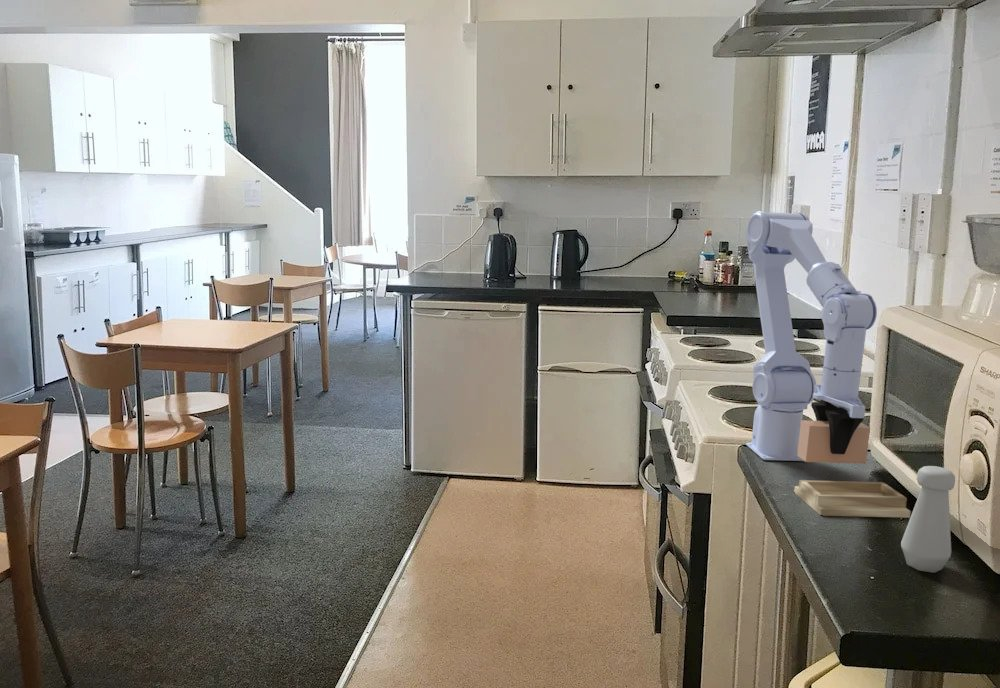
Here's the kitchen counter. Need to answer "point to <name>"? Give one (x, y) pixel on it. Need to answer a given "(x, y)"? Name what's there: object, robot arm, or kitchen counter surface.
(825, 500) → the tray
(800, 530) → the kitchen counter surface
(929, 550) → the salt shaker
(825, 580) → the kitchen counter surface
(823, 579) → the kitchen counter surface
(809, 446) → the clay block
